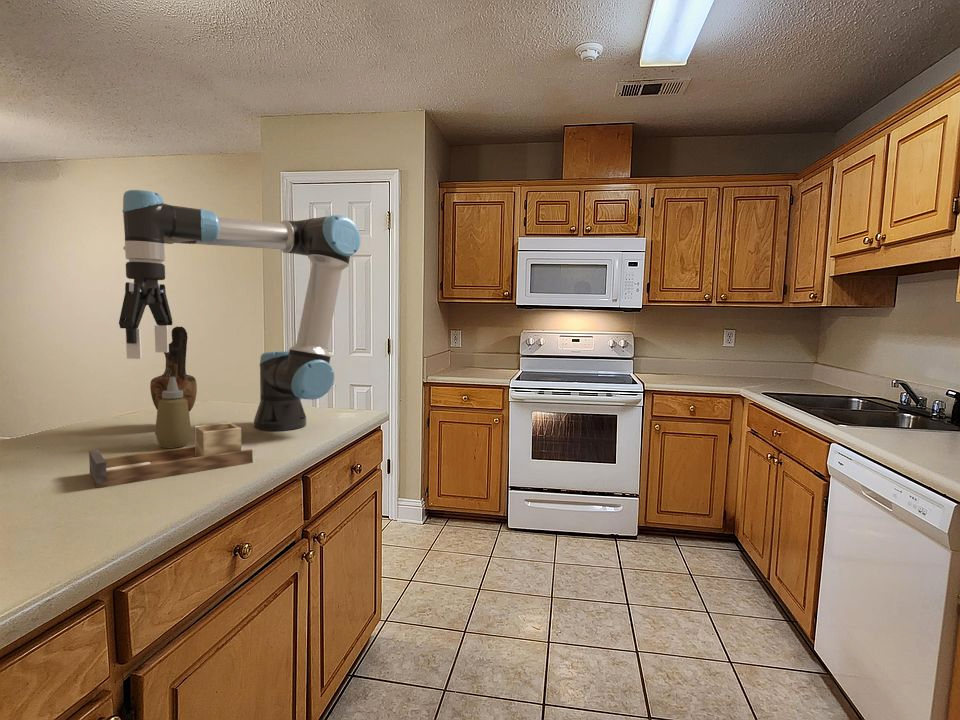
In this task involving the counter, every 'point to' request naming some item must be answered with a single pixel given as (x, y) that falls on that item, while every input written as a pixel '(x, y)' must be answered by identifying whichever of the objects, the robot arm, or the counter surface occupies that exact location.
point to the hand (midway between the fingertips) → (149, 355)
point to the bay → (158, 465)
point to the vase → (175, 370)
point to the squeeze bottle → (172, 418)
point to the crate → (217, 439)
